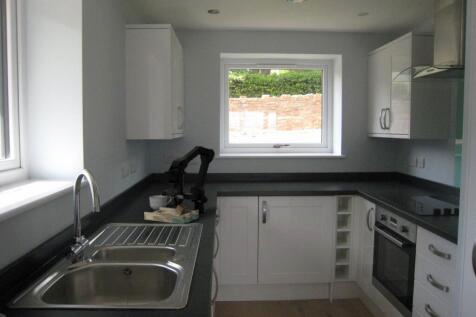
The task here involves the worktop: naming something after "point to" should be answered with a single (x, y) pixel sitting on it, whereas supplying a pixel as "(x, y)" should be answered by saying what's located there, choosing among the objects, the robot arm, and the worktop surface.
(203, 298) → the worktop surface
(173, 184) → the robot arm
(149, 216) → the track
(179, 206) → the walnut block
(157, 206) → the teacup
